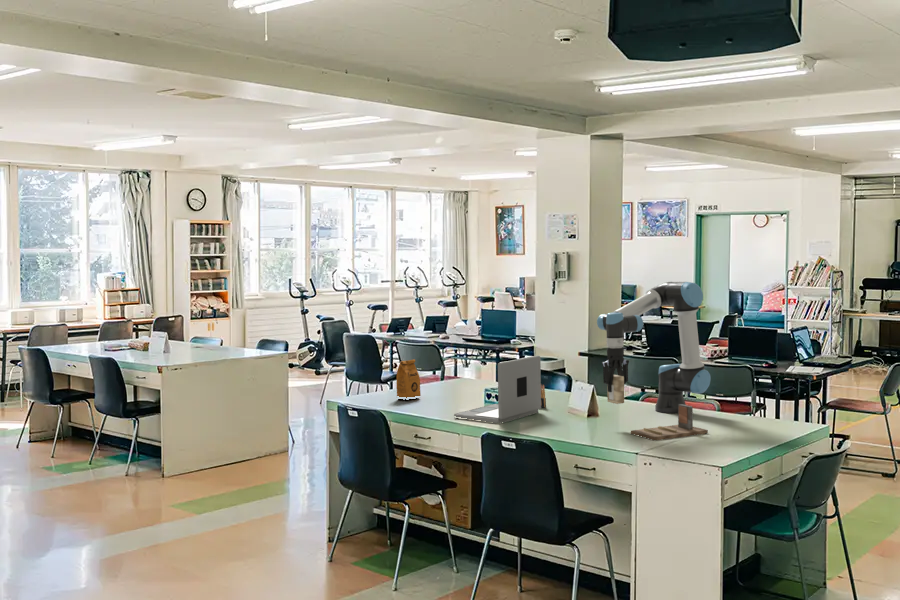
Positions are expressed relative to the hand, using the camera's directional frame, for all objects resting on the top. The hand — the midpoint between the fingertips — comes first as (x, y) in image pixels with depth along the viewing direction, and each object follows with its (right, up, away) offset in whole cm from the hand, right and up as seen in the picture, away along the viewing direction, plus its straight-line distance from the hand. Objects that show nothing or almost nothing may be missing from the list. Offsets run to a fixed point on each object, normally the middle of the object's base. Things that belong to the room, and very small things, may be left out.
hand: (616, 398), depth 403 cm
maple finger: (0, -2, 0) cm, 2 cm away
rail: (+20, -14, -14) cm, 28 cm away
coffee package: (-97, -11, +90) cm, 133 cm away
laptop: (-51, -13, +37) cm, 64 cm away
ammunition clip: (-30, -11, +60) cm, 68 cm away
